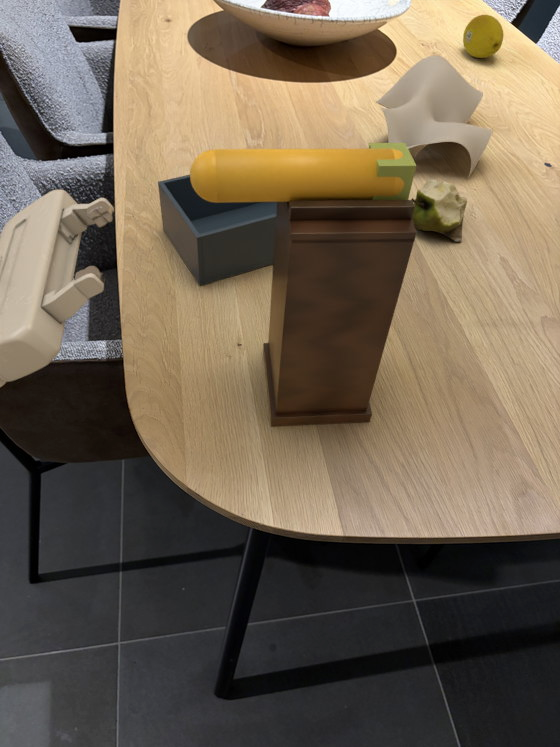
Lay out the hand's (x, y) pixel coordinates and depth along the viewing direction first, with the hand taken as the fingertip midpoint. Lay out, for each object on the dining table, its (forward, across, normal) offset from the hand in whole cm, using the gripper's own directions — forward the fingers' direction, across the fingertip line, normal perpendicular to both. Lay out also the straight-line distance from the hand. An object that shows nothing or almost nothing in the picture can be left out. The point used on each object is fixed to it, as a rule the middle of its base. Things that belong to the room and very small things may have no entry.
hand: (105, 240), depth 51 cm
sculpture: (+31, -55, -42) cm, 76 cm away
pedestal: (+7, 0, -28) cm, 29 cm away
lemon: (+49, -90, -53) cm, 116 cm away
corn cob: (+16, 0, -4) cm, 17 cm away
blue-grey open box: (+3, -28, -26) cm, 38 cm away
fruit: (+26, -30, -39) cm, 56 cm away
